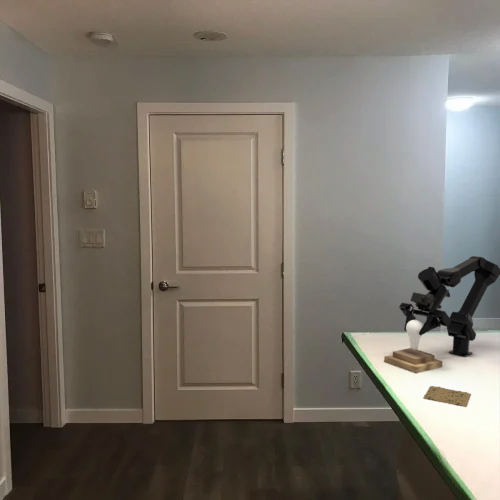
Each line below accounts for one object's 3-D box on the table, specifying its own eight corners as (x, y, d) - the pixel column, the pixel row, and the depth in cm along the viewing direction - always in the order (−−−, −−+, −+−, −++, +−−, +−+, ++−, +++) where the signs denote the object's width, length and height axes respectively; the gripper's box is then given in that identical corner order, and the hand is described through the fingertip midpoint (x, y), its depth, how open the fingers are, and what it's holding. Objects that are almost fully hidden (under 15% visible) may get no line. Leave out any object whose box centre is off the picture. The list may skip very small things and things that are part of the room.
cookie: (467, 409, 141) (467, 405, 141) (422, 399, 147) (422, 396, 147) (472, 395, 151) (472, 392, 151) (429, 387, 157) (430, 384, 157)
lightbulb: (426, 350, 178) (427, 320, 177) (417, 353, 174) (419, 322, 173) (410, 346, 182) (412, 317, 181) (401, 350, 178) (403, 319, 177)
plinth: (410, 356, 188) (410, 345, 188) (442, 366, 176) (443, 355, 176) (384, 361, 181) (384, 350, 180) (416, 373, 169) (416, 361, 168)
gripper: (403, 280, 186) (381, 313, 181) (447, 288, 170) (424, 324, 165) (416, 299, 191) (395, 331, 186) (460, 308, 175) (438, 344, 170)
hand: (412, 332), depth 177 cm, fingers closed on lightbulb, 6 cm apart
